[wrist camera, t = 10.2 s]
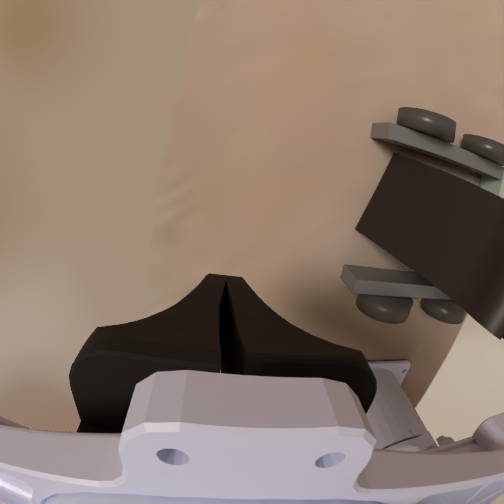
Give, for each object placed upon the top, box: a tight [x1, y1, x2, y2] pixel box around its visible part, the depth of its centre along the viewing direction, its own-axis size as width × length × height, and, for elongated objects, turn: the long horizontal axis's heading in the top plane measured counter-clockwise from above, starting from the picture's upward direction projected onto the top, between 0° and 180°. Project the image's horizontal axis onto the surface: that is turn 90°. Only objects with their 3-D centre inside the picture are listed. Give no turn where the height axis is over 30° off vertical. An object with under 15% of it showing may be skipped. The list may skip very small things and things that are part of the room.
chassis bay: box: [341, 107, 504, 324], centre depth 19 cm, size 14×12×4 cm
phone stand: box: [355, 153, 504, 339], centre depth 16 cm, size 9×6×12 cm, turn 64°
